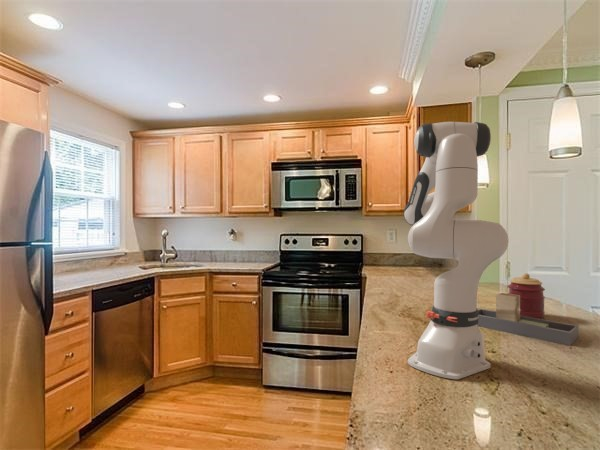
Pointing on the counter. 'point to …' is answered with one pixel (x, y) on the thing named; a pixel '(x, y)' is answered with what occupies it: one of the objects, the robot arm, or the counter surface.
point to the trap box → (530, 327)
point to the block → (508, 306)
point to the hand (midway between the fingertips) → (465, 255)
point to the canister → (528, 295)
